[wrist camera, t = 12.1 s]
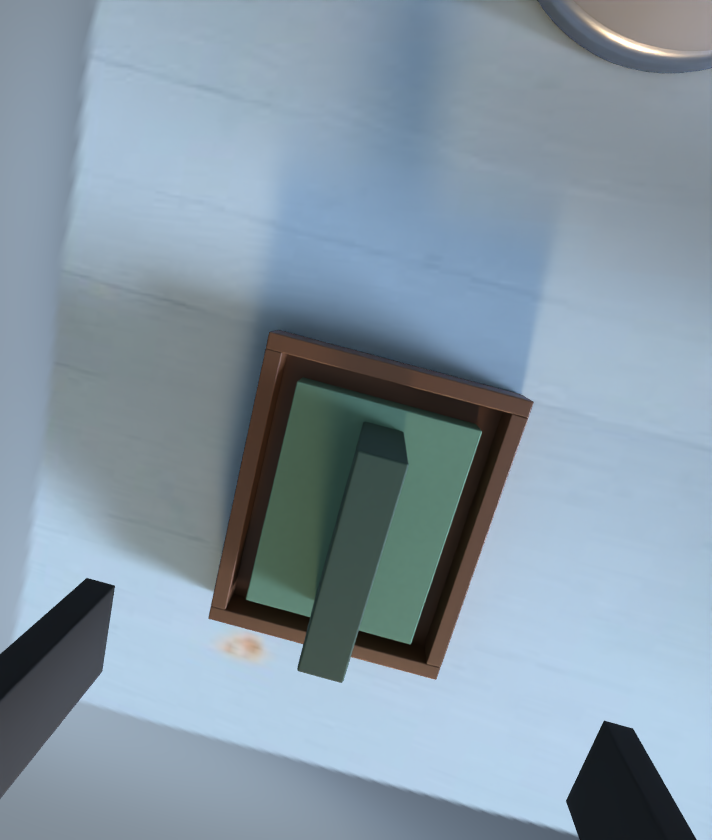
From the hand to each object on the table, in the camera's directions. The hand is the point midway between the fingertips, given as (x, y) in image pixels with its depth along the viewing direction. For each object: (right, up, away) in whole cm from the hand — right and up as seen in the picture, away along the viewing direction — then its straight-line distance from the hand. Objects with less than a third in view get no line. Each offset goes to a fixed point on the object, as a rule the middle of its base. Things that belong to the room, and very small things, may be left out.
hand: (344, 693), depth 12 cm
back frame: (+1, +3, +13) cm, 14 cm away
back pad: (0, +2, +13) cm, 13 cm away
